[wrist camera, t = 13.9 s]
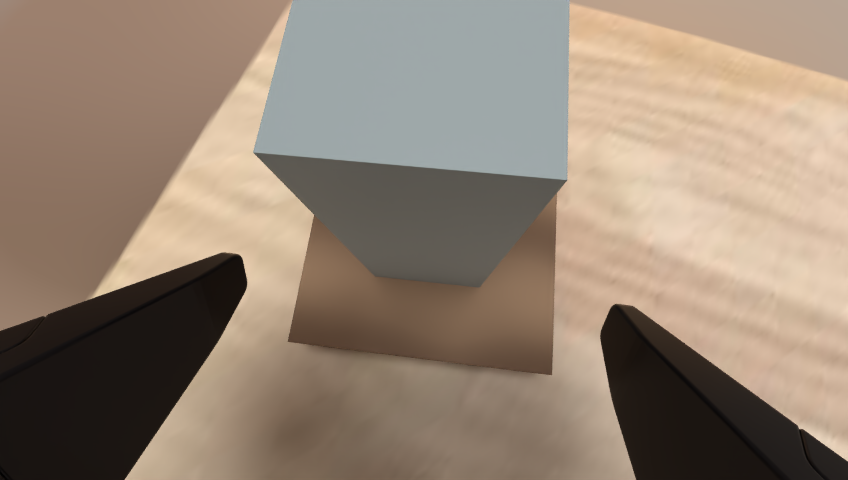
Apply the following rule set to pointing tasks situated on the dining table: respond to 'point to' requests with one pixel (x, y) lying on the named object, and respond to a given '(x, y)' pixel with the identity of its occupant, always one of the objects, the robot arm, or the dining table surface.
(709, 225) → the dining table surface
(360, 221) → the slate post
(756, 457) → the robot arm
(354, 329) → the walnut board
